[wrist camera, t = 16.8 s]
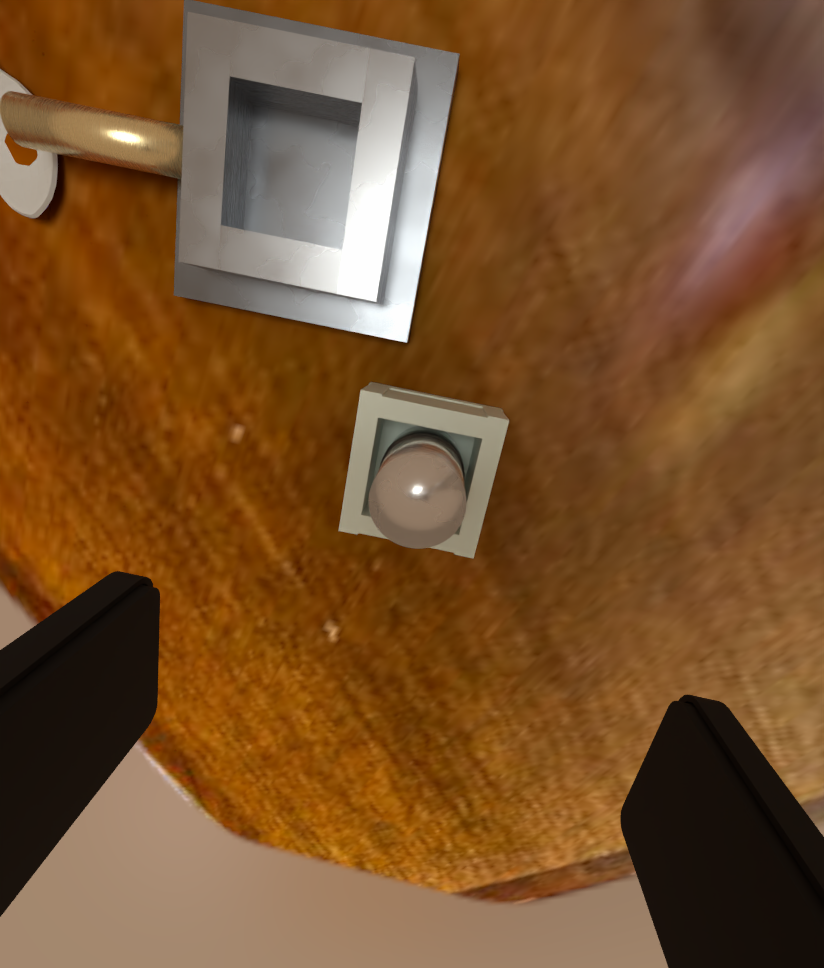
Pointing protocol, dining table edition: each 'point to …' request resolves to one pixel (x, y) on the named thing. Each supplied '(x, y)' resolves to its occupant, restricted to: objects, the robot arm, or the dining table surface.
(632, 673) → the dining table surface
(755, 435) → the dining table surface
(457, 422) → the pale square socket block
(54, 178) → the spoon
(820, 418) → the dining table surface
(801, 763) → the dining table surface
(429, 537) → the beige round-topped cylinder
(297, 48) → the grey square pan
